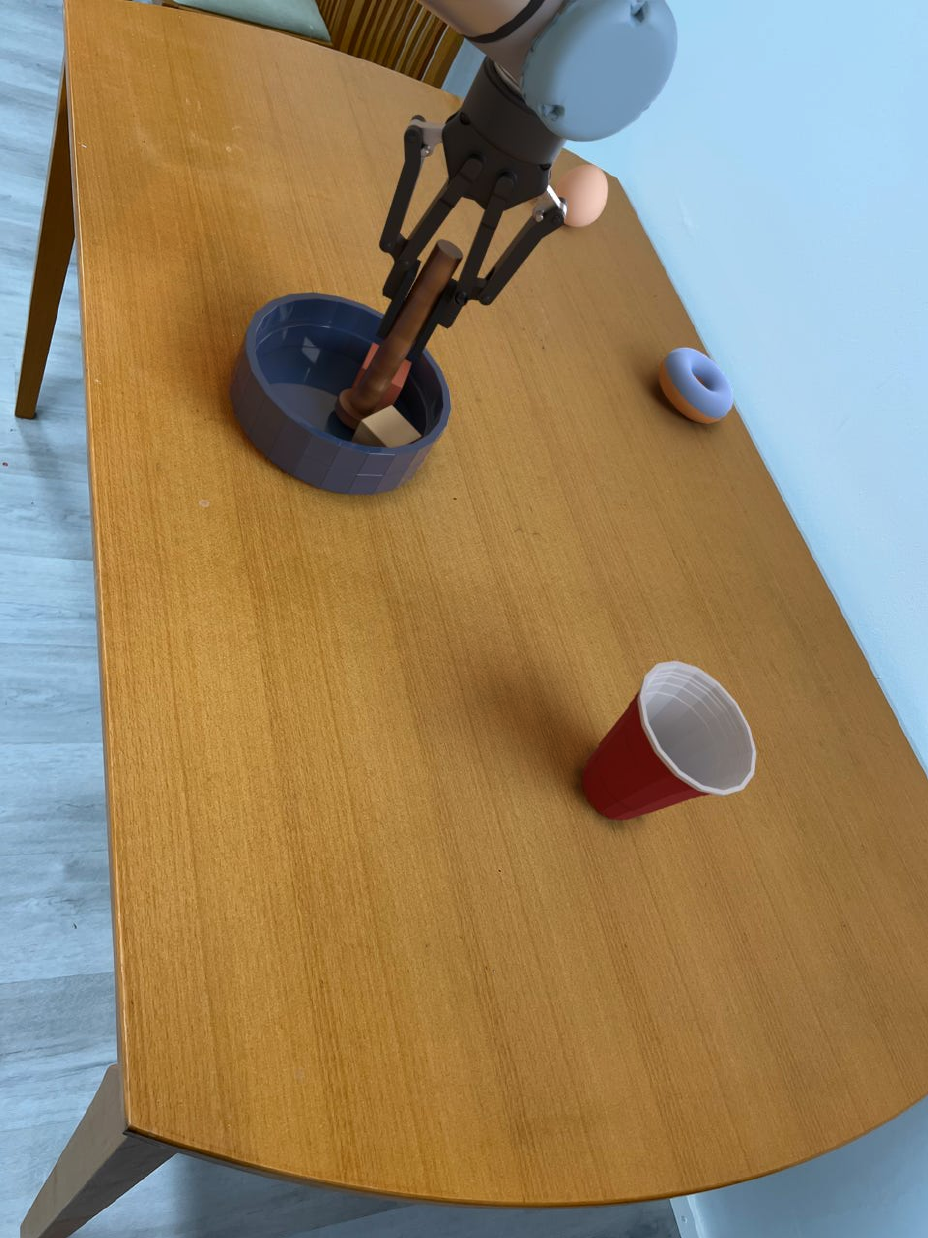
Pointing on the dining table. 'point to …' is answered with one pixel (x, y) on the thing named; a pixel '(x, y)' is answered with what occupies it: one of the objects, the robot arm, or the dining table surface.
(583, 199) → the egg
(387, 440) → the birch block
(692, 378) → the doughnut
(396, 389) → the terracotta block
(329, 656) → the dining table surface
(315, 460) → the bowl
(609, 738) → the plastic cup
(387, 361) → the muddler
